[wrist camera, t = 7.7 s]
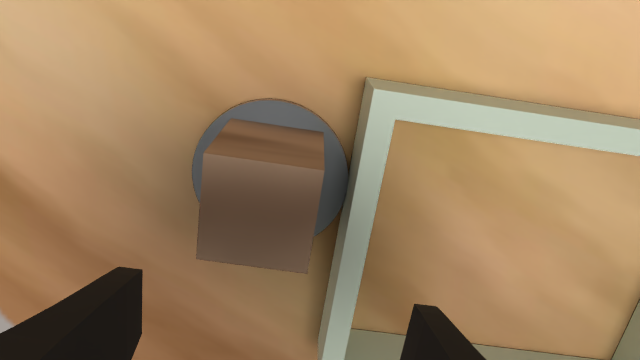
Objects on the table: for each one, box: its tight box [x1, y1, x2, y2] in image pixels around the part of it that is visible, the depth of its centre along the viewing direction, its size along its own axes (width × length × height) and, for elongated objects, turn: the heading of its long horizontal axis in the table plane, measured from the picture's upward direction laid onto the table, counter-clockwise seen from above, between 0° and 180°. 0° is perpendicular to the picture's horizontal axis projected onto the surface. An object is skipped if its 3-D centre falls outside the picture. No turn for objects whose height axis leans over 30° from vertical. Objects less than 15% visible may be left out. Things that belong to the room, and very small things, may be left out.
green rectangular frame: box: [318, 77, 640, 360], centre depth 21 cm, size 14×17×3 cm
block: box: [196, 118, 325, 274], centre depth 18 cm, size 4×4×5 cm
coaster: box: [192, 99, 348, 236], centre depth 21 cm, size 7×7×1 cm
